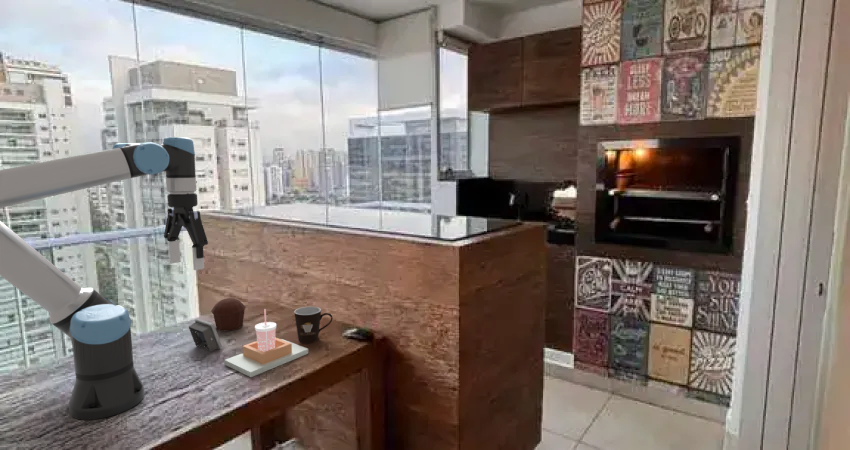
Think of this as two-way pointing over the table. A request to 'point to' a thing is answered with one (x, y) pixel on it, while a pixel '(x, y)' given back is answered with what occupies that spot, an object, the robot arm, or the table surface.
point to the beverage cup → (265, 335)
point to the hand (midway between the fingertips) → (186, 266)
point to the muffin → (228, 314)
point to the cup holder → (264, 357)
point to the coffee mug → (309, 323)
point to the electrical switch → (205, 335)
